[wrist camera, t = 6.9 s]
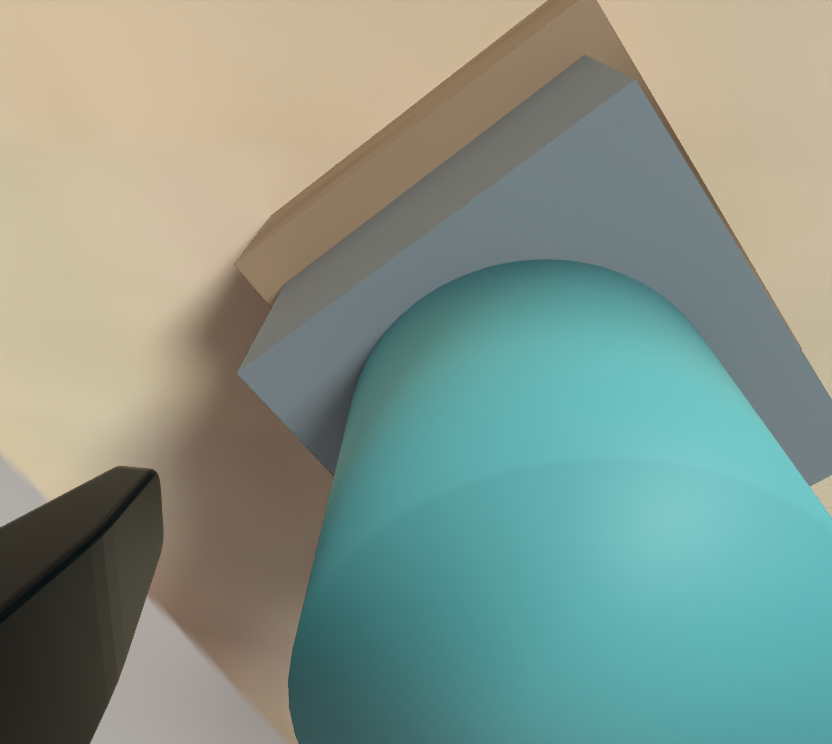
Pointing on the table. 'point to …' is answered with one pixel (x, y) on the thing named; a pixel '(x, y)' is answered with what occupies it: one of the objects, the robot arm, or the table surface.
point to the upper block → (540, 239)
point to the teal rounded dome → (561, 534)
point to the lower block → (439, 138)
